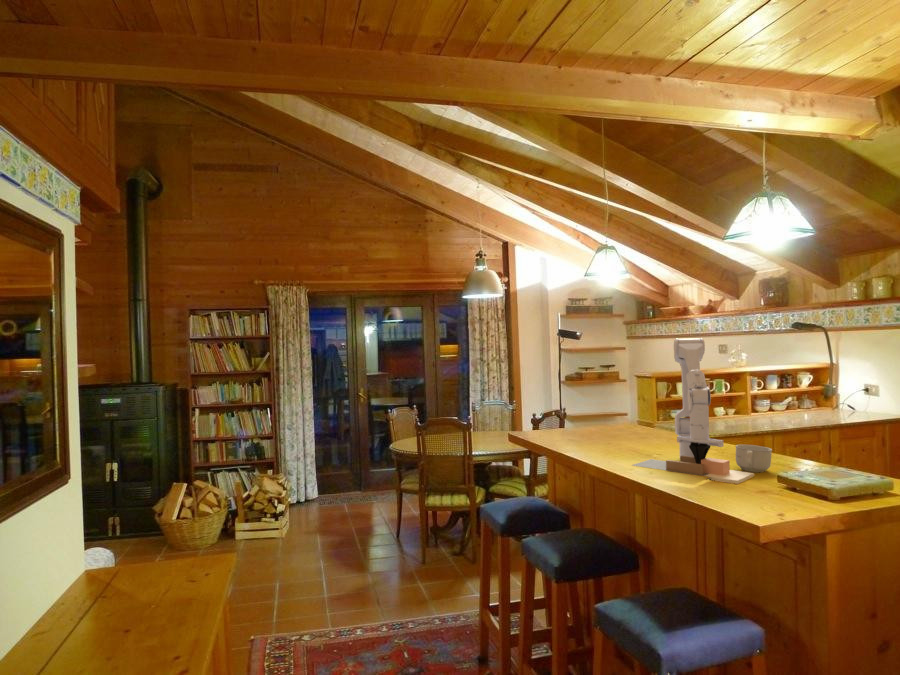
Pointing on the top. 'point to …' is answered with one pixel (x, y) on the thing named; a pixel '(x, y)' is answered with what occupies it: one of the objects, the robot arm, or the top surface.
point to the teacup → (753, 458)
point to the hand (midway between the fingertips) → (700, 466)
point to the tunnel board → (694, 469)
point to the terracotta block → (716, 466)
